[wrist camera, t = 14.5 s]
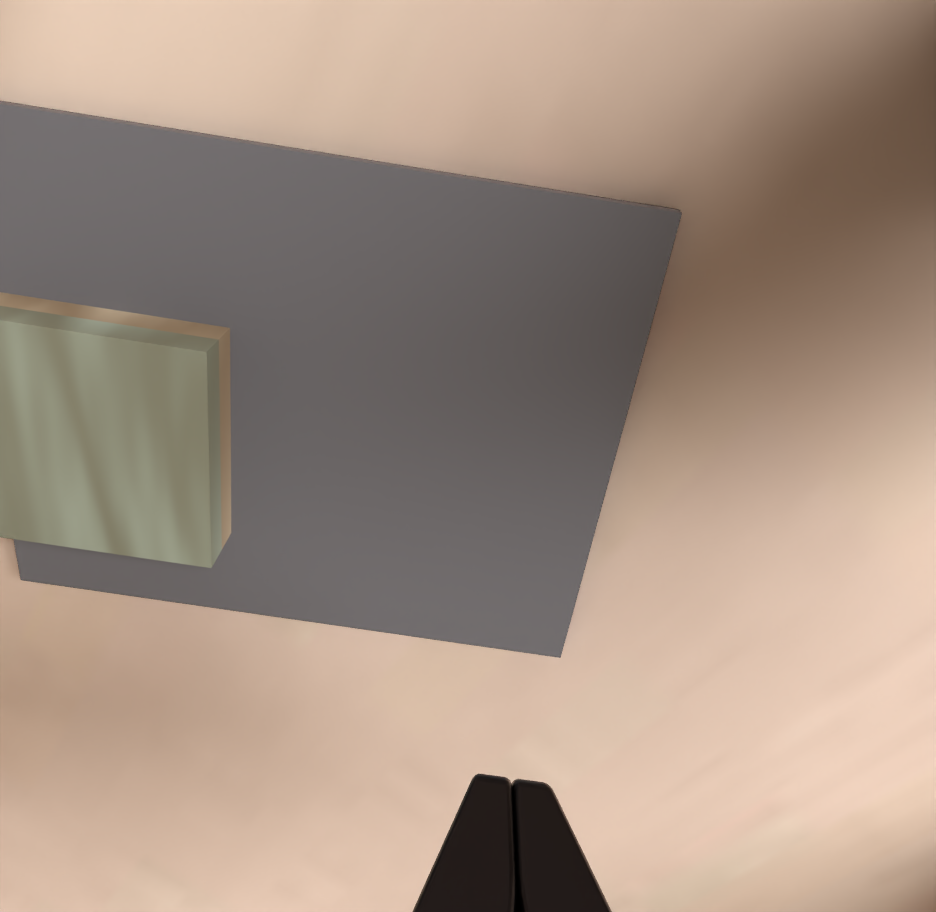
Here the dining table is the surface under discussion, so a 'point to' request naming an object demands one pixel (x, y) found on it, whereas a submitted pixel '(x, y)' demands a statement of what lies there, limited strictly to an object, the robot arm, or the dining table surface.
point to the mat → (357, 365)
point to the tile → (114, 431)
